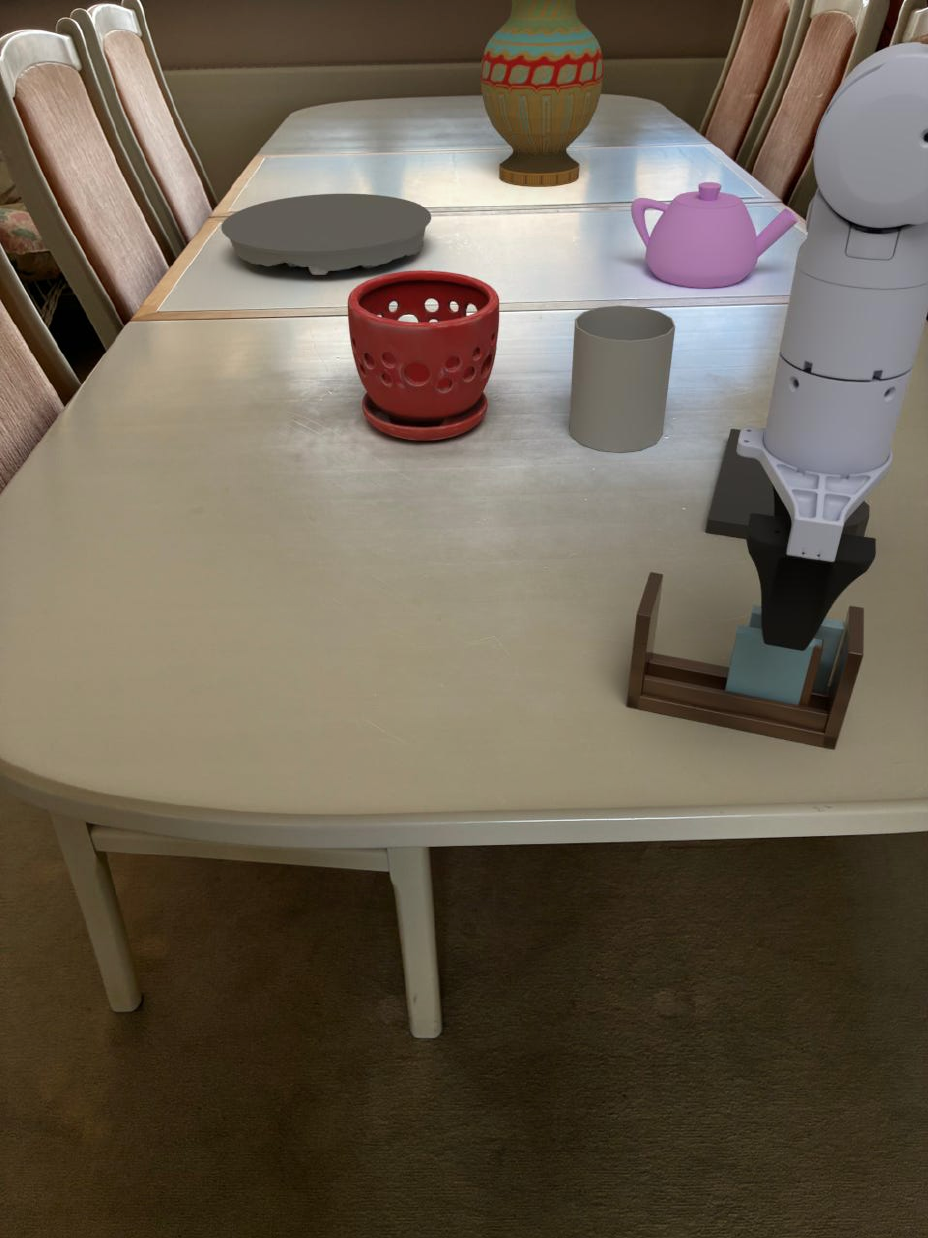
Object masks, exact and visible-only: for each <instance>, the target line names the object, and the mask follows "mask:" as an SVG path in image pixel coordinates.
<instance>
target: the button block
mask: <svg viewBox="0 0 928 1238" xmlns="http://www.w3.org/2000/svg"><path fill="white" fill-rule="evenodd" d="M741 430H742V429H738V428H730V430H729V434H728V439H727V442H726V446H725V450H724V453H723V458H722V462H721V466H720V469H719V472H718V476H717V477H718V478H717V482H716V485H715V489H714V493H713V496H712V501H711V504H710V509H709V512H708V516H707V520H706V525H705V526H706V527H705V533H707V534H708V533H709V534H714V535H721V536H726V537H727V536H729V537H734V538H740V539H746V534H747V529H748V524H749V519H750V514H751V513H757V514H764V515H770V516H774V492H773V485H772V482H771V480H770V479H769V477H768V475H767V473H766V472H765V470H764V468H763V466H762V465H761V463H760V462H759V461H758V460H757V459H754V458H747V457H742V456H740V455H739V454H737V451H736V450H737V444H738V439H739V435H740V431H741ZM869 519H870V505H869V504H868V503H867V502H866V501H865V500H864V501H863V502H862V503H861V504H860V505H859V507H858V508H857V509H856V510H855V511H854V512H853V513H852V514H851V515H850V516H849V518H848V519H847V520H846V521H845V523H844V526H843V530H842V533H843V534H849V535H856V536H863V537H865V534H866V531H867V527H868V523H869Z"/></svg>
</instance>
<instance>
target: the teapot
mask: <svg viewBox="0 0 928 1238" xmlns="http://www.w3.org/2000/svg"><path fill="white" fill-rule="evenodd" d="M697 186H698V187H697V188H698V190H697V191H695V190H694V191H688V192H683V193H680V194H677V195H676V196H675V197H674V198H672V200H671V201H670V202H669V204H668V203H665V202H663V201H659V200H657V199H652V198H649V197H637V198H635V199H634V200H633V201H632V203H631V206H630V212H631V218H632V222H633V224H634V226H635V229H636V231H637V233H638V235H639V237H640V239H641V241H642V242H643V244H644V246H645V248H646V249H645V261H646V265H647V266H648V268H649V269H650V271H651V272H652V274H654V276H655V277H656V278H657V279H658V280H660V281H662V282H664V283H666V284H667V283H668V284H671V285H673V286H674V285H675V286H679V287H685V288H695V289H714V288H716V289H717V288H724V287H730V286H733V285H736V284H738V283H740V282H741V281H744V280H743V279H745V278H746V277H747V276H749V274H750V273H751V272H752V271H753V270H754V269H755V267H756V266H757V263H758V260H759V257H761V256H762V255H763V254H764V253H765V252H766V251H768V250H769V249H770V248H771V247H772V246H773V245H774V244H775V243H776V242H777V241H778V240H780V239H781V238H782V237H783V236H784V235H785V234H786V233H787V232H789V230H791V228H793V227H794V226H795V225H796V224H797V223H798V218H797V217H796V216H795V215H794V213H792V212H791V210H789V209H788V208H787V207H785V208H783V210H781V211H780V212H779V213H778V214H777V216H776V217H774V218H773V219H772V220H771V221H770V223H768V224H767V225H766V227H764V229H763V230H761V232H760V233H759V234H758V235H757V232H756V228H755V226H754V225H755V224H754V222H753V219H752V217H751V214H750V213H749V210H748V208H747V206H746V204H745V202H744V201H743V199H742V198H741V197H740V196H738V195H735V194H732V193H728V192H722V187H723V186H722V184H720V183H718V182H713V181H704V182H700V183H698V184H697ZM648 209H651V210H652V209H653V210H657V211H659V212H662V214H661V216H659V218H658V220H657V222H656V223H655V225H654V226H653V228H652V231H651V233H650V234H649V231H648V229H647V224H646V215H645V213H646V211H647V210H648Z"/></svg>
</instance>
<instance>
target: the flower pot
mask: <svg viewBox="0 0 928 1238" xmlns="http://www.w3.org/2000/svg"><path fill="white" fill-rule="evenodd" d="M428 300H434V301H436V302H437V306H438V307H437V309H436V310H435V311H430V310H428V309H427V308H426V307H427V306H426V303H427V301H428ZM393 302H396V305H397V306H396V308H395V310H394V311H391V310H390V305H391V304H392V303H393ZM452 302H454V303H456V305H457V306H458V307H457V310H456V311H454V310H453V309H452V308H451V304H452ZM469 305H473V306H474V307H475V309H476V312H473V313H470V314H469V315H467V314H468V313H467V310H468V306H469ZM406 315H412V316H413V317H414V318H415V319H416V320H417V321H404V320H399V319H400V318H401V317H403V316H406ZM433 320H434V321H433ZM347 321H348V331H349V339H350V340H349V341H350V346H351V351H352V356H353V360H354V365H355V368H356V371H357V374H358V377H359V379H360V382H361V384H362V387H364V389H365V393H364V395H363V397H362V399H361V400H362V401H361V408H362V412H363V415H364V416H365V418H366V420H367V421H368V422H369V423H370V424H371V425H372V426H373V427H374V428H376V429H377V430H378V431H380V432H382V433H385V434H387V435H389V436H392V437H395V438H399V439H404V440H410V441H424V442H425V441H437V440H438V441H439V440H444V439H449V438H453V437H456V436H460V435H462V434H464V433H466V432H468V431H470V430H471V429H473V428H474V427H476V426H477V425H478V424H479V423H480V422H481V421H482V420H483V419H484V417H485V416H486V413H487V411H488V408H489V407H488V406H489V403H488V402H489V401H488V398H487V395H486V393H485V392H484V391H485V389H486V387H487V385H488V382H489V381H490V378H491V374H492V371H493V368H494V364H495V359H496V355H497V349H498V348H497V346H498V345H497V344H498V339H499V338H498V336H499V330H500V297H499V295H498V293H497V291H496V290H495V289H494V287H492V286H491V285H490V284H489V283H487V282H485V281H483V280H481V279H479V278H476V277H473V276H469V275H467V274H462V273H458V272H457V273H456V272H450V271H442V270H441V271H440V270H423V269H422V270H404V271H403V270H402V271H397V272H391V273H386V274H383V275H379V276H376V277H373V278H369V279H367V280H366V281H363V282H362V283H360V284H358V285H357V286H356V287H354V288H353V289H352V290H351V292H349V295H348V297H347Z"/></svg>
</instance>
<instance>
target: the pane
mask: <svg viewBox="0 0 928 1238" xmlns="http://www.w3.org/2000/svg"><path fill="white" fill-rule="evenodd" d="M823 644H824V640H823V639H820V638H813V640H812V642H811V643H810V644H809V646H808V647H807V648H806V650H804V651H799V650H794V649H788V648H783V647H777V646H771V645H766V644H765V643H764V641H763V635H762V629H759V628H753V627H749V625H743V624H742V625H741V624H738V625H737V626H736V633H735V638H734V642H733V648H732V653H731V658H730V663H729V667H730V668H729V673H728V678H727V683H726V688H725V691H730V692H735V693H740V694H745V695H750V696H755V697H760V698H765V699H770V700H775V701H780V702H786V703H791V704H796V705H801V706H806V707H808V703H809V700H810V696H811V692H812V688H813V685H814V681H815V677H816V674H817V670H818V666H819V662H820V659H821V655H822V651H823Z"/></svg>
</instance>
